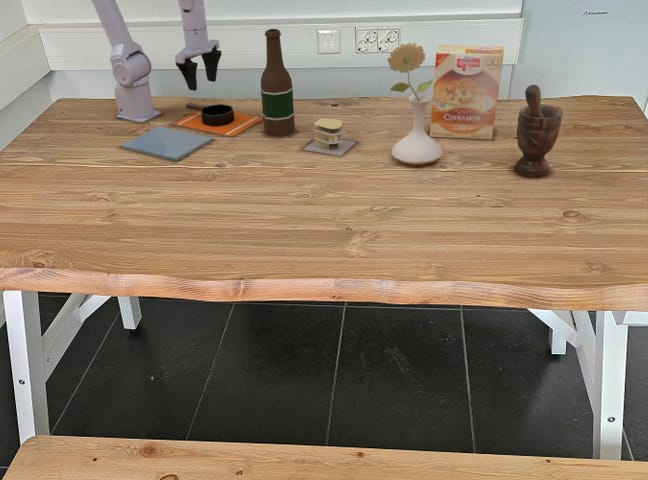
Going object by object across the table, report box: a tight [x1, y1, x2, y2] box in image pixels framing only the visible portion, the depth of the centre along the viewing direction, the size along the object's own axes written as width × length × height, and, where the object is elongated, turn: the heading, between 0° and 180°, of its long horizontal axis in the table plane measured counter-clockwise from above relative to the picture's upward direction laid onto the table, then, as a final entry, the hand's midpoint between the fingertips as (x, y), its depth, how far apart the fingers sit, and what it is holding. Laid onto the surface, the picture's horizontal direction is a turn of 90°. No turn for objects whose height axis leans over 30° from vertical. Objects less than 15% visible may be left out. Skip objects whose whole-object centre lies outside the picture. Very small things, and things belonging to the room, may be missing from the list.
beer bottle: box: [260, 28, 295, 138], centre depth 165 cm, size 8×8×24 cm
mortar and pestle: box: [513, 84, 564, 178], centre depth 141 cm, size 12×9×20 cm
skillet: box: [185, 102, 235, 126], centre depth 181 cm, size 14×8×3 cm, turn 57°
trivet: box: [120, 125, 214, 162], centre depth 170 cm, size 18×14×1 cm
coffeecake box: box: [429, 44, 505, 141], centre depth 161 cm, size 15×7×20 cm, turn 76°
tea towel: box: [172, 110, 263, 137], centre depth 181 cm, size 20×14×1 cm
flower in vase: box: [387, 42, 443, 165], centre depth 149 cm, size 13×11×25 cm
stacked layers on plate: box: [302, 117, 357, 157], centre depth 163 cm, size 10×9×6 cm
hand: (202, 85), depth 174 cm, fingers open, 7 cm apart
